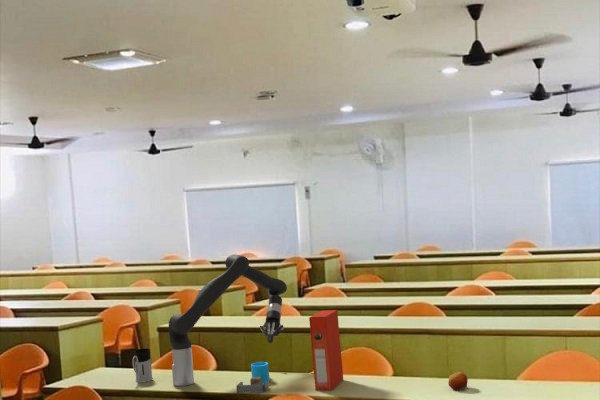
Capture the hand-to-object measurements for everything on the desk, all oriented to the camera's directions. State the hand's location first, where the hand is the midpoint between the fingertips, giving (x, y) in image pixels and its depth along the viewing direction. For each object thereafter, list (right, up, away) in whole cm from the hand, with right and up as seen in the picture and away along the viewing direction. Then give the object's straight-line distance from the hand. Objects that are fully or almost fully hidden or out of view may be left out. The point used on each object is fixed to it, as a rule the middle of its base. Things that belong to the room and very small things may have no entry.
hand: (269, 342), depth 328 cm
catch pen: (-6, -14, -36) cm, 39 cm away
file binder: (+28, -11, -37) cm, 48 cm away
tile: (-5, -14, -30) cm, 34 cm away
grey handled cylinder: (-64, -19, -4) cm, 67 cm away
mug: (-3, -14, -20) cm, 24 cm away
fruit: (+81, -7, -58) cm, 100 cm away
